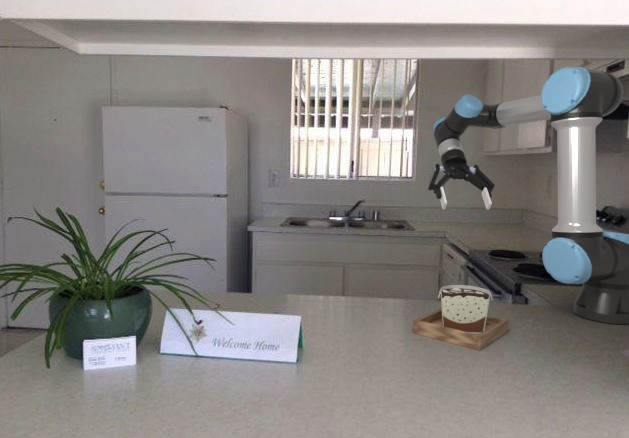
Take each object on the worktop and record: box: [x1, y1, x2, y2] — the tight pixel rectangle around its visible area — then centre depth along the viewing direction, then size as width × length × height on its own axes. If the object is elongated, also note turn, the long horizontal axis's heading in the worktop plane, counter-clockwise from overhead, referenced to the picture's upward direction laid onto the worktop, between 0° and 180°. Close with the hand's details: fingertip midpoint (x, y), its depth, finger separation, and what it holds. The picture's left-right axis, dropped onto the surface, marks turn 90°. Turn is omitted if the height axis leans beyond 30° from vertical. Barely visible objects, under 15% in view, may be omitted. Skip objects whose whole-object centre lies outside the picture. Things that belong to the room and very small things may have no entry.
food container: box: [437, 284, 493, 334], centre depth 118 cm, size 12×6×10 cm, turn 88°
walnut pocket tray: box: [412, 308, 509, 351], centre depth 119 cm, size 16×16×3 cm
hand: (467, 206), depth 149 cm, fingers open, 13 cm apart
